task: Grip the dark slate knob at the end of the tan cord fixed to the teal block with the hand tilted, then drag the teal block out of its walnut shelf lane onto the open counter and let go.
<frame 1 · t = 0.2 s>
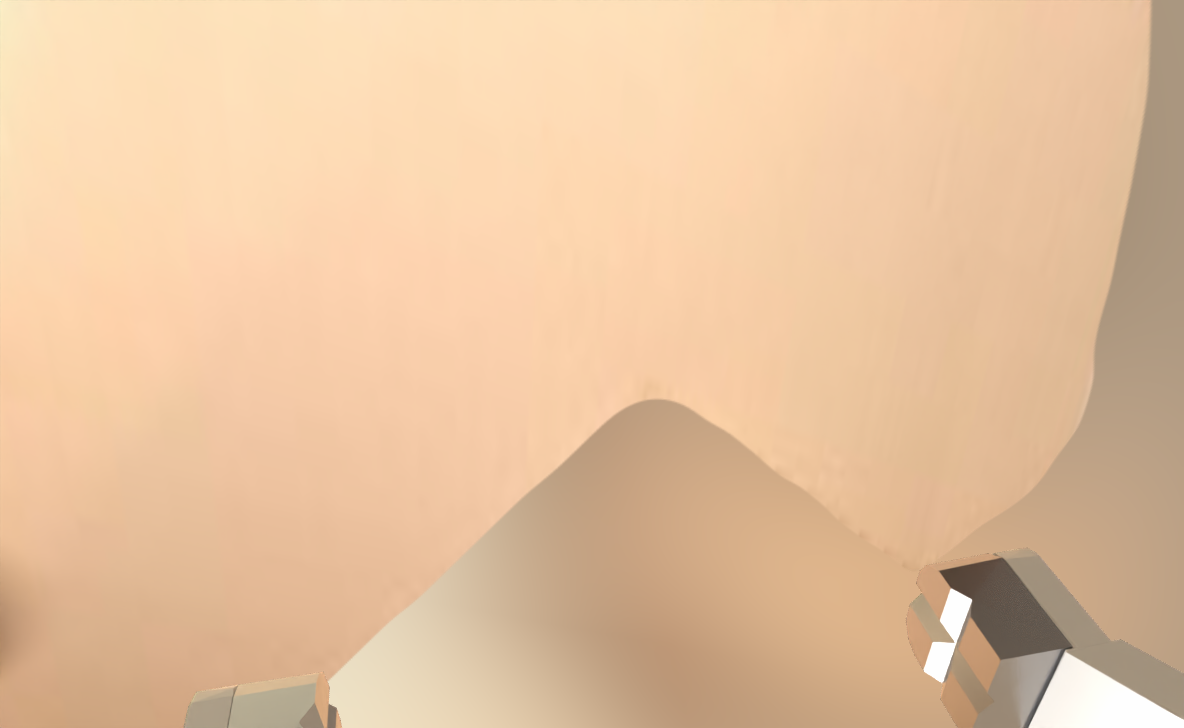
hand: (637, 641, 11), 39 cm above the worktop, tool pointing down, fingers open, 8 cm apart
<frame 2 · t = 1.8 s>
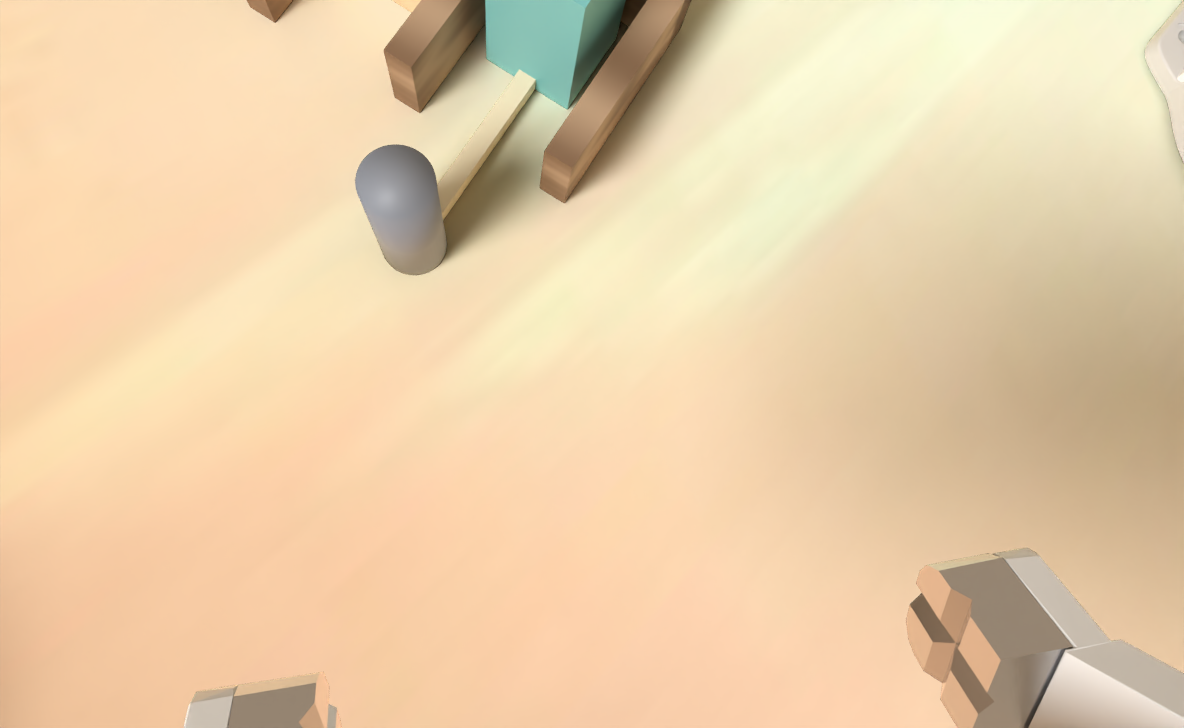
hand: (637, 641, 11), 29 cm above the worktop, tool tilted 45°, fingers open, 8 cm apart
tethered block: (551, 48, 45), on the worktop
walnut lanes: (471, 18, 44), on the worktop
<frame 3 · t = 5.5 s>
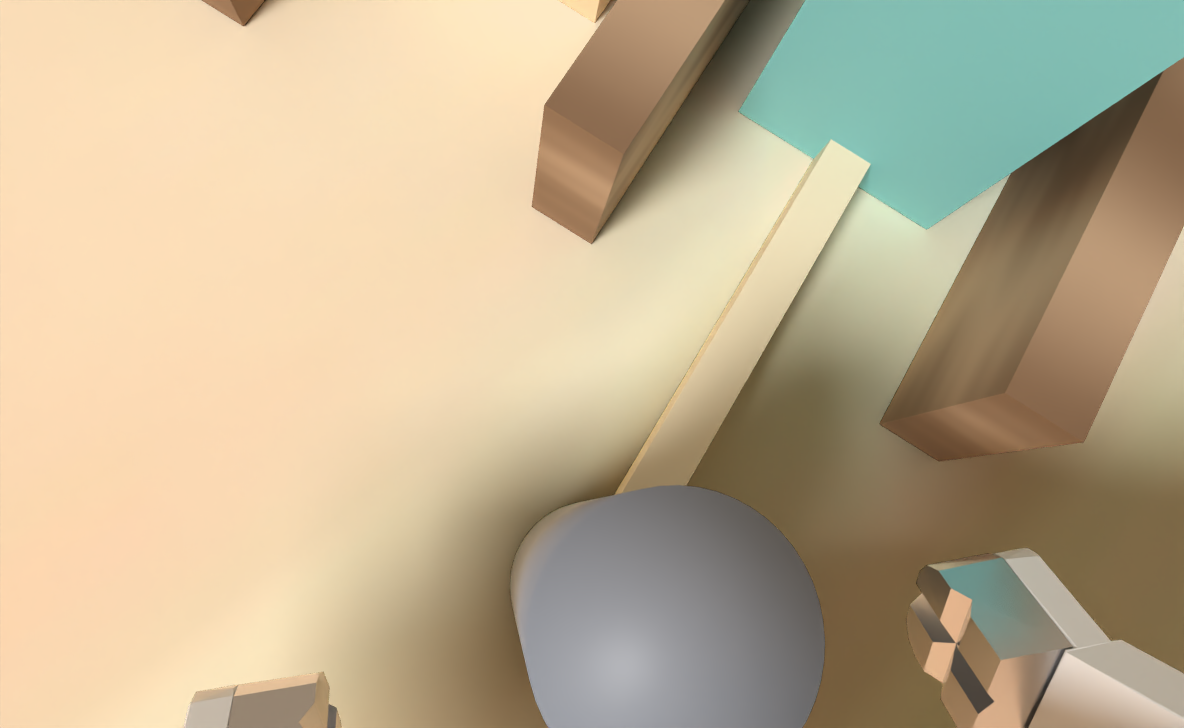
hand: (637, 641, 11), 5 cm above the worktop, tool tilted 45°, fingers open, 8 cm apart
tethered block: (881, 86, 19), on the worktop
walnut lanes: (699, 17, 19), on the worktop
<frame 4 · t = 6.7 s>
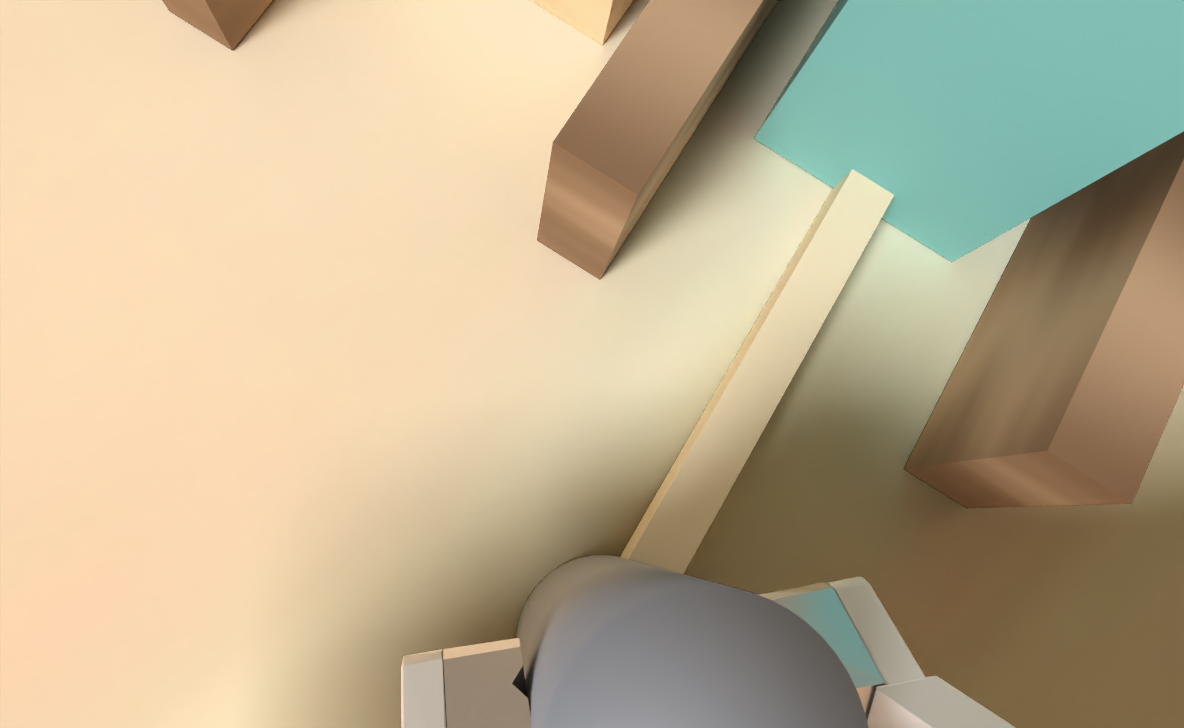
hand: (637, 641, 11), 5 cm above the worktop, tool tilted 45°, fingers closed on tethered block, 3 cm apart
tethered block: (903, 111, 19), on the worktop, touching gripper
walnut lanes: (712, 39, 18), on the worktop
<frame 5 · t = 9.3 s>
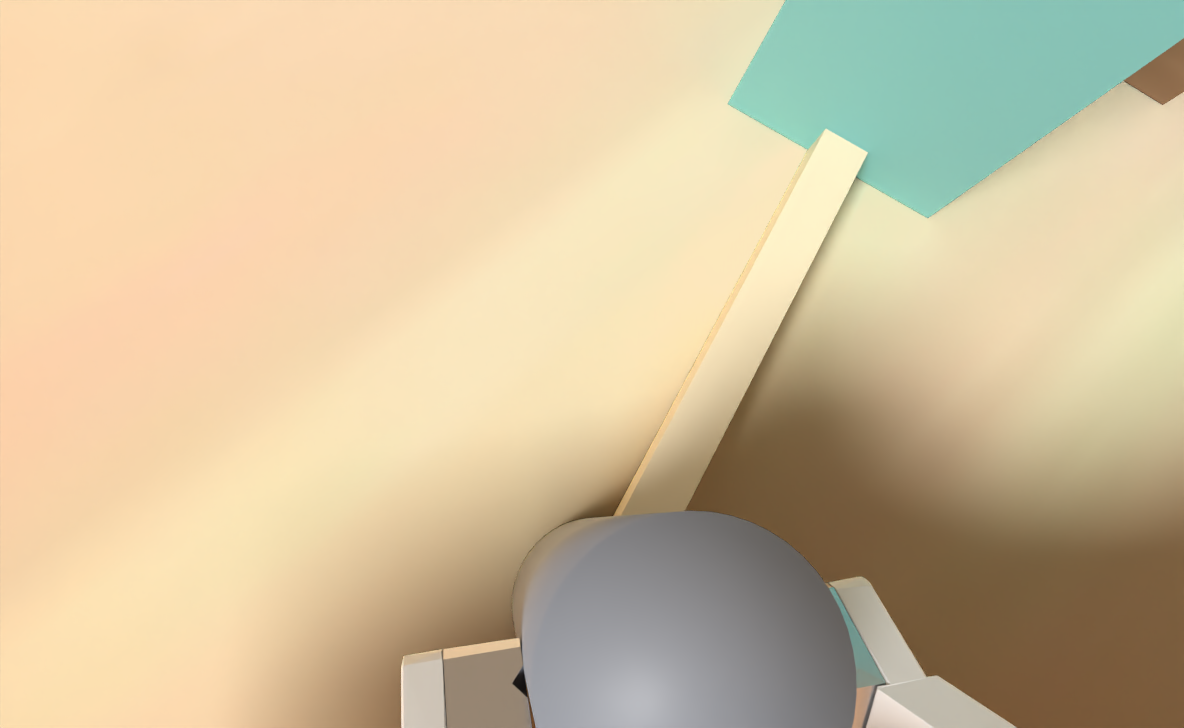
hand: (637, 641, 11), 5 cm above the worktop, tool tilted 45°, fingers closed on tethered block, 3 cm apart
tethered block: (874, 71, 19), on the worktop, touching gripper
when the fingers open (5 cm above the worktop, at t = 10.1 s): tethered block stays where it is, on the worktop.
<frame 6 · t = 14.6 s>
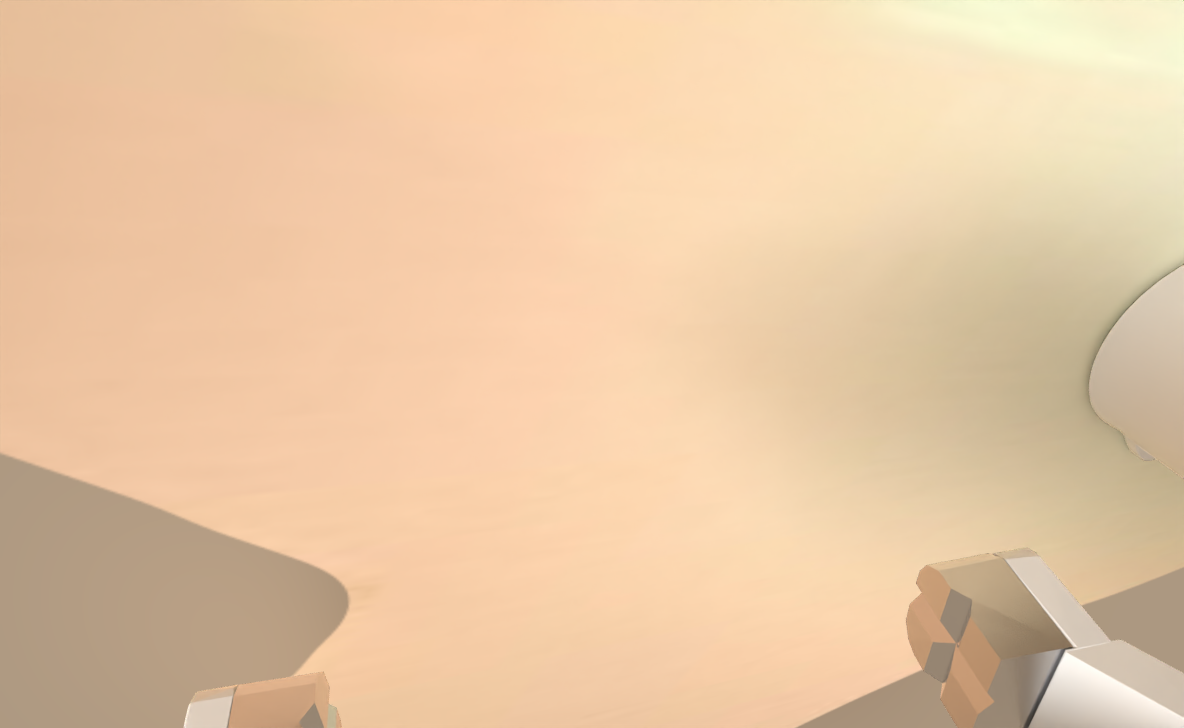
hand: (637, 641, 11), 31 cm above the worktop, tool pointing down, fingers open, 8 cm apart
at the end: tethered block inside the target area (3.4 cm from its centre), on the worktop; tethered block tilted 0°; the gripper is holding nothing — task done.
